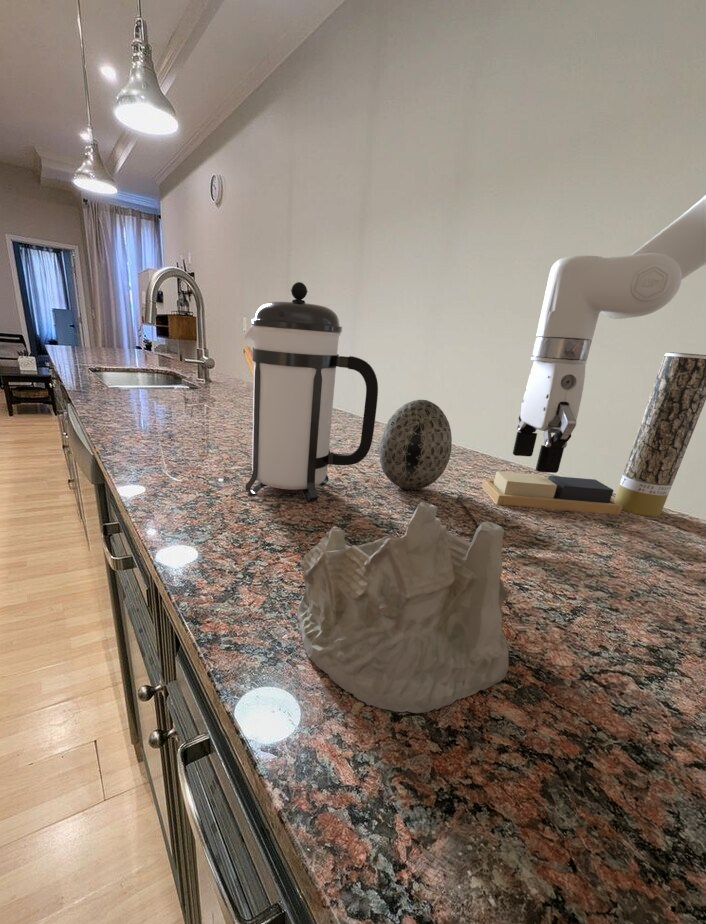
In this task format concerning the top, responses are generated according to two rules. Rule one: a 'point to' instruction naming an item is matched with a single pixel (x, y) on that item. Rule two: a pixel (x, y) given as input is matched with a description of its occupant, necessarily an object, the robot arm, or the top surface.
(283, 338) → the coffee press
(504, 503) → the tray
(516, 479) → the beige pad
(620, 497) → the paper tube
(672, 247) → the robot arm
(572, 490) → the charcoal pad
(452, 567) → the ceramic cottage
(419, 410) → the decorative egg
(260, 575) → the top surface
